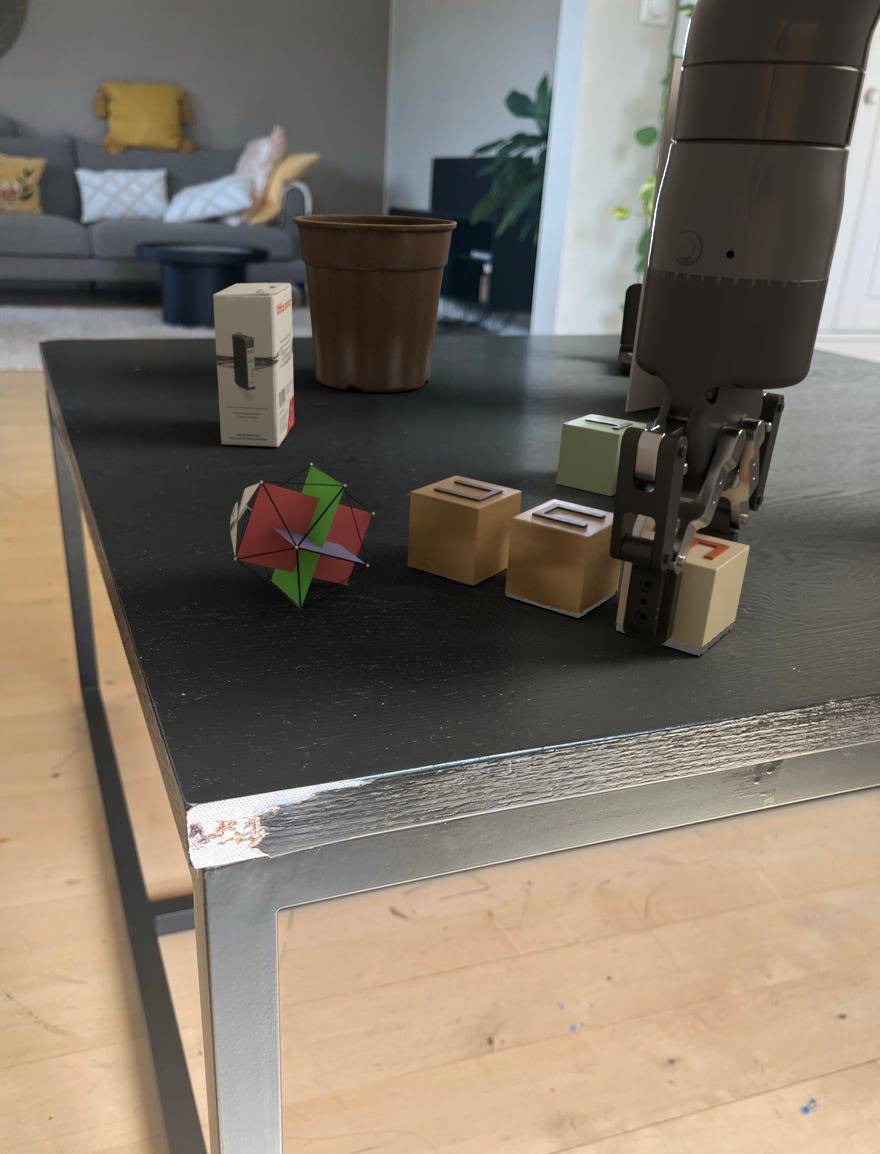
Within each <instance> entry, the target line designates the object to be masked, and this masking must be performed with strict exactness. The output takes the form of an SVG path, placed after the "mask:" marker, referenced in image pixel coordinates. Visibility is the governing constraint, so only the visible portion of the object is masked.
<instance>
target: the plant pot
mask: <svg viewBox="0 0 880 1154" xmlns="http://www.w3.org/2000/svg"><path fill="white" fill-rule="evenodd" d="M292 219H293V224H295V225H297V231H298V238H299V247H300V256H301V261H302V262H303V263H304V267H305V276H306V285H307V294H308V305H309V315H310V325H311V327H310V328H311V336H312V346H313V347H312V348H313V358H314V370H315V373H314V374H315V379H316V381H317V382H319V383H320V384H322V385H323V386H325V387H328V388H334V389H338V390H343V391H346V390H348V389H349V388H351V387H354V388H357V389H359V390H360V392H362V393H363V392H364V393H386V394H387V393H400V392H401V393H402V392H407V391H410V390H417V389H420V388H422V387H424V385H425V384H426V385H427V384H429V383H430V381H431V371H432V360H433V354H434V345H435V337H436V330H437V322H438V312H439V305H440V297H441V289H442V281H443V276H444V275H443V274H444V268H445V266H447V265H448V260H449V253H450V245H451V240H452V233H453V230H455V229H456V228H457V224H458V223H457V221H454V220H450V219H441V218H440V219H438V218H431V217H430V218H429V217H416V216H408V215H407V216H406V215H404V216H403V215H384V214H310V215H309V214H308V215H298V216H293V218H292Z"/></svg>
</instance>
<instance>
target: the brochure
mask: <svg viewBox="0 0 880 1154" xmlns="http://www.w3.org/2000/svg"><path fill="white" fill-rule="evenodd" d="M682 63H683V58H678V57H672V58H671V65H670V73H669V82H668V89H667V96H666V103H665V110H664V118H663V125H662V132H661V139H660V140H661V141H660V148H659V154H658V155H659V156H658V162H657V171H656V178H655V183H654V184H655V186H654V192H653V193H654V194H653V200H652V208H651V215H650V222H649V230H648V237H647V246H646V252H645V260H644V268H643V276H642V282H641V284H642V289H641V296H640V304H639V311H638V319H637V326H636V334H635V341H634V349H633V356H632V363H631V371H630V374H629V379H628V387H627V394H626V402H625V409H624V412H625V413H631V412H637V411H642V410H647V409H653V408H658V407H661V404H662V401H663V397H664V394H665V392H666V385H665V383H664V382H663V380H662V379H661V378H660V377H659V376H653V375H650V374H648V373H646V372H644V371H643V370H642V369H641V368H640V367H639V366H638V364H637V362H636V357H635V355H636V348H637V341H638V333H639V326H640V319H641V312H642V305H643V298H644V290H645V283H646V276H647V268H648V262H649V254H650V247H651V240H652V232H653V225H654V217H655V211H656V205H657V199H658V195H659V191H660V187H661V184H662V180H663V176H664V173H665V169H666V165H667V161H668V157H669V151H670V146H671V144H673V143H675V142H673V140H672V133H673V126H674V119H675V112H676V105H677V98H678V91H679V83H680V76H681V71H682Z"/></svg>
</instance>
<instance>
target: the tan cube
mask: <svg viewBox="0 0 880 1154" xmlns="http://www.w3.org/2000/svg"><path fill="white" fill-rule="evenodd" d="M522 493H523V491H522V490H519V489H514V488H511V487H507V486H504V485H503V486H502V485H498V484H494V483H490V482H487V481H486V482H485V481H482V480H477V479H473V478H469V477H466V476H461V475H453V476H450V477H447V478H445V479H442V480H439V481H436V482H433V483H430V484H428V485H425V486H423V487H420V488H417V489H414V490H411V491H410V498H409V499H410V503H409V521H408V524H409V525H408V547H407V548H408V550H407V567H408V566H409V567H414V568H417V569H420V570H425V571H427V572H430V573H435V574H438V575H441V576H444V577H449V578H452V579H455V580H458V581H461V582H467V583H470V584H475V583H477V582H479V581H480V580H483V579H485V578H487V577H489V576H491V575H492V574H496V573H497V572H499V571H502V570H504V569H505V568H507V564H508V553H509V542H510V531H511V520H512V517H514V516H517V515H519V514H521V506H522V505H521V504H522ZM409 567H408V568H409Z"/></svg>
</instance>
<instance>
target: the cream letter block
mask: <svg viewBox="0 0 880 1154" xmlns="http://www.w3.org/2000/svg"><path fill="white" fill-rule="evenodd" d="M677 528H678V527H676V531H677ZM654 534H655V530H653V531H652V534H651V537H650V539H651V540H654ZM675 534H676V533H675ZM750 549H751V548H750V545H748V544H745V543H740V542H737V543H736V542H732V541H728V540H724V539H720V538H715V537H711V536H707V535H703V534H699V533H695V536H694V539H693V541H692V544H691V547H690V550H689V553H688V556H687V558H686V563H685V566H684V567H683V569H682V570H683V574H682V580H681V586H680V591H679V597H678V603H677V609H676V614H675V620H674V626H673V632H672V636H671V639H672V640H677V641H678V642H684V643H685V644H691V645H693V646H698V647H703V646H704V645H706V644H707V643H708V642H710V641H711V640H712V639H713V638H714V637H716V636H717V635H718V634H719V633H720V632H722V631H723V630H724V629H725V628H726V627H727V626H729V625H730V624H731V623H733V622H734V621H735V622H736V618H737V613H738V607H739V602H740V598H741V593H742V587H743V583H744V578H745V573H746V568H747V563H748V557H749V553H750ZM631 568H632V563H630V562H626V561H624V566H623V572H622V578H621V579H622V581H621V585H620V593H619V600H618V607H617V613H616V621H615V624H616V623H619V624H621V625H623V621H624V615H625V608H626V601H627V595H628V588H629V581H630V575H631Z"/></svg>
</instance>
